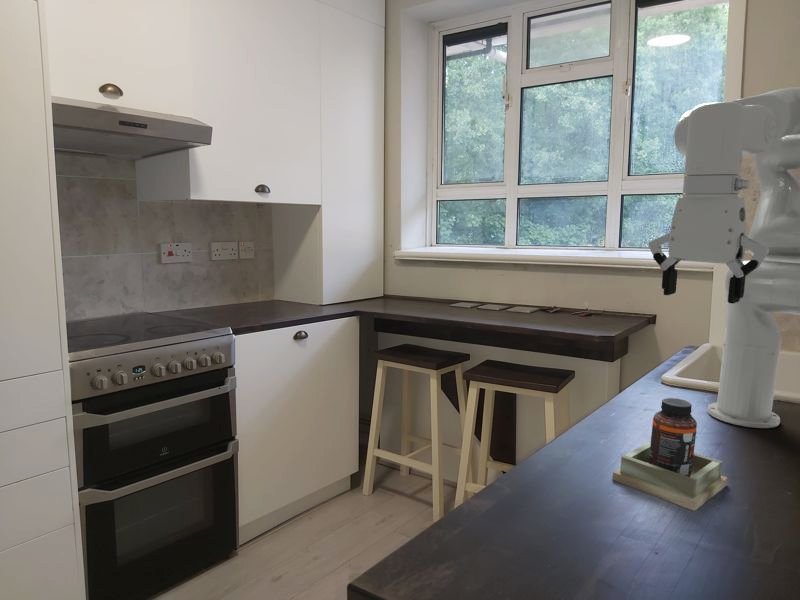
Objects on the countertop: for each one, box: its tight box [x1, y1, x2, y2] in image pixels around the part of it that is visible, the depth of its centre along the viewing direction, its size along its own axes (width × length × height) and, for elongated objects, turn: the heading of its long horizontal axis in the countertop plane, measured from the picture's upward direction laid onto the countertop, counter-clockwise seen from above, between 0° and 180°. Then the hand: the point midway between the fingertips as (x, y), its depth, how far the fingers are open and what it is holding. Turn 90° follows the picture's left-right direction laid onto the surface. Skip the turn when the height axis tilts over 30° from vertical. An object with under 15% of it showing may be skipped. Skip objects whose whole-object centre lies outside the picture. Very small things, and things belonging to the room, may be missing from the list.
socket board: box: [611, 440, 729, 512], centre depth 88 cm, size 12×12×4 cm
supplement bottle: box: [649, 397, 698, 477], centre depth 87 cm, size 6×6×11 cm
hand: (700, 298), depth 92 cm, fingers open, 9 cm apart
